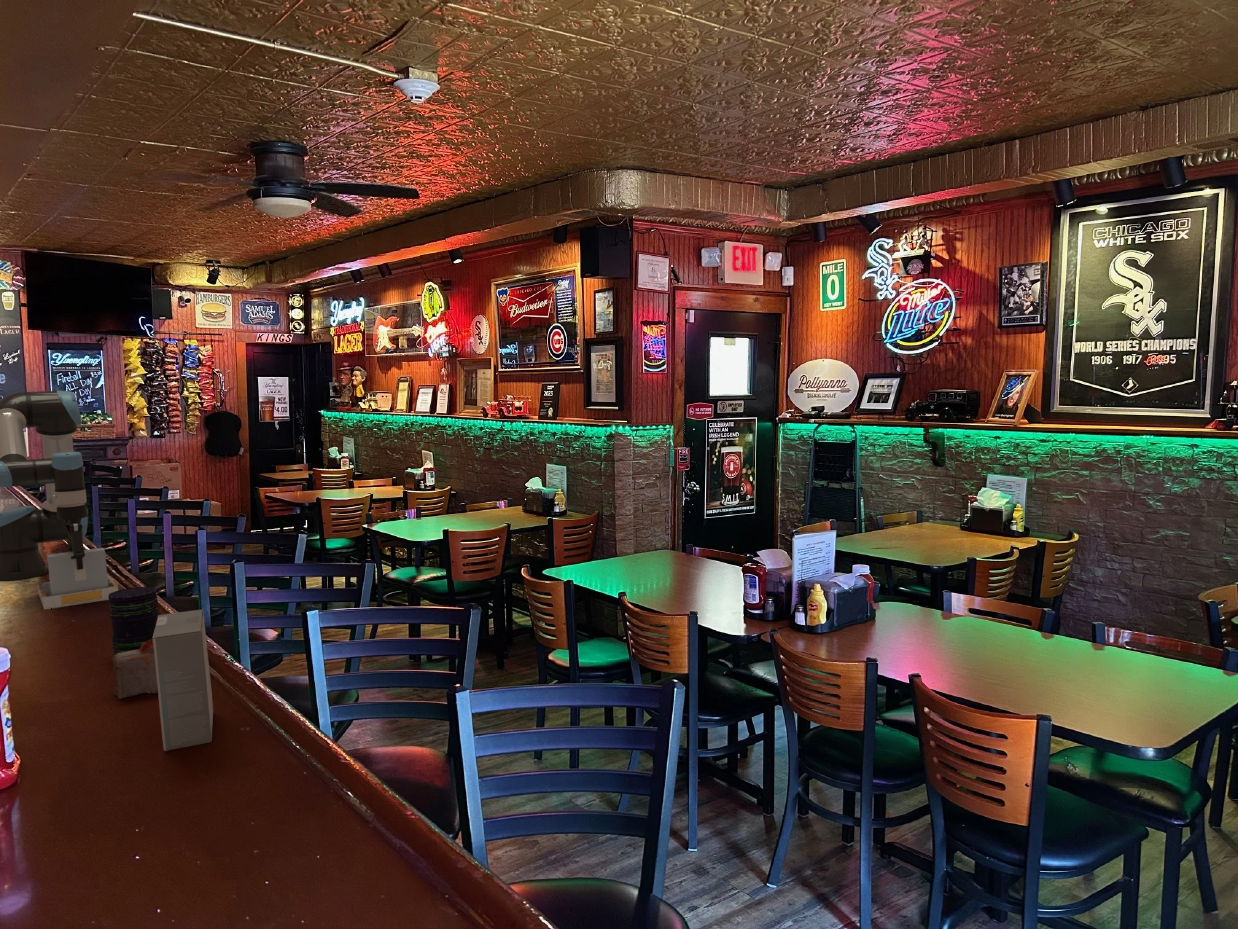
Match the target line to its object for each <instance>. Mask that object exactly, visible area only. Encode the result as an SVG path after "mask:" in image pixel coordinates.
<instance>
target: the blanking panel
mask: <svg viewBox="0 0 1238 929" xmlns="http://www.w3.org/2000/svg"><path fill="white" fill-rule="evenodd" d="M84 553H85V556H84V558H85V569H86V579H87V580H81V581H75V573H74V563H73V559H71V556H74V555H73V552H71V551H66V552H58V553H50V554H49V553H48V554H47V555H46V557H47V558H46V559H47V570H48V577H49V578H48V580H49V582H50V589H51V596H54V595H61V594H68V593H74V592H81V591H88V590H95V589H101V588H108V579H107V574H108V570H107V561H106V560H107V559H106V550H105V548H103V547H98V548H89V549H84Z"/></svg>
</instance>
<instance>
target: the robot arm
mask: <svg viewBox="0 0 1238 929" xmlns="http://www.w3.org/2000/svg"><path fill="white" fill-rule="evenodd" d="M82 424H83V422H82V417H81V413H80V408H79V404H78V400H77V397H76V394H75V393H74V392H73V391H69V390H44V391H42V390H41V391H18V392H17V391H16V392H14V393H11V394H8V395H6V396H4V397H2V398H0V488H8V489H9V488H11V487H24V486H25V487H26V486H36V485H45V489H46V490H45V491H46V500H45V501H44V502H42V504H41V506H42V508H38V509H37V508H35V506H34V505H26V506H24V505H23V506H19V507H12V508H10V509H6V510H5V509H4V510H2V511H0V581H2V582H4V581H17V580H25V579H26V580H27V579H30V578H35V577H39V576H43V575H45V574H47V573H48V566H47V564H46V563H45V561H44V558H43V556H42V555H41V553H40V550H39V544H43V543H52V542H61V541H66V542H67V545H66V547H67V550H68V552H73V555H74V556H71V559H73V563H74V573H75V581H81V580H87V579H86V569H85V558H84V556H85V553H84V550H85V549H84V547H85V546H84V542H83V537H84V536H86V534H87V532H88V531H87V529H88V522H89V516H88V515H89V513H88V512H89V511H88V505H87V504H86V503H87V491H86V487H85V486H86V485H85V473H84V472H85V471H84V461H83V455H82V453H81V452H79V451H74V442H73V440H74V439H73V435H74V434H75V433H76V432H77V431H78V426H81V425H82ZM26 428H35V432H36V434H38V435H39V436H41V442H42V456H43V458H37V459H29V458H28V457H29V456H28V451H27V450H28V449H27V443H26V436H25V430H24V429H26Z"/></svg>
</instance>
